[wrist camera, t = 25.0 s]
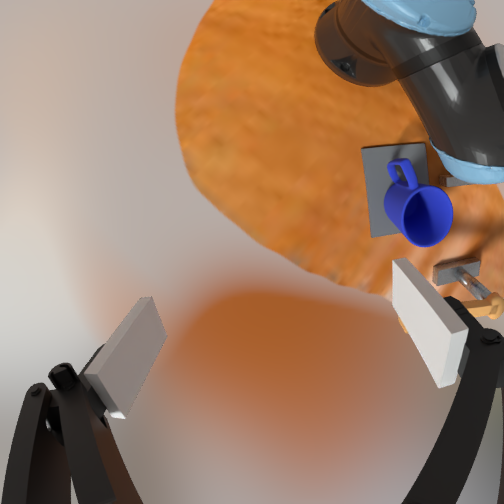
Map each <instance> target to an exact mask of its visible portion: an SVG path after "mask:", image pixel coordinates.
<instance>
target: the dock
mask: <svg viewBox="0 0 504 504" xmlns="http://www.w3.org/2000/svg"><path fill="white" fill-rule="evenodd" d="M439 180H440V185H442V186H445V187H453V186H462V185H471V184H473V183H468V182H465V181H462V180H460V179H457V178H456V177H454V176H453V175H452V174H451V175H441V176H439ZM479 269H480V260H478V259H477V258H476V257H473V258H469V259H464V260H460V261H455V262H451V263H446V264H442V265H437V266H433V282H434V283H435V284H436V285H437V286H440V285H444V284H448V283H452V282H456V281H459V282H460V283H461V284H462V285H463V286H464V287H465V288H466V289H467V290H468V291H469V292H470V293H471V294H472V295H473V296H474V297H475V298H476V299H477V300H482V299H486V298H487V297H488V296H489V295H490V294H491V292H490V291H489V290H488V289H487V288H486V287H485V286H484V285H482V284H481V283H480V282H479V281H478V280H477V279H476V278H474V277H476V276H479Z"/></svg>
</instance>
